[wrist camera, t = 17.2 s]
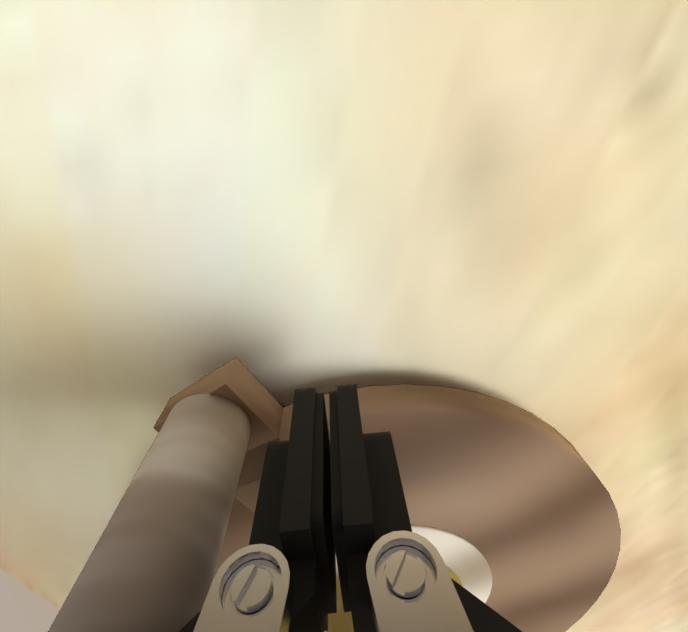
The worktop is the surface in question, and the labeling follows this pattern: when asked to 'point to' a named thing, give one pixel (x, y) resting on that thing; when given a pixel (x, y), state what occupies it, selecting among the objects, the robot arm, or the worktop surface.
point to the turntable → (419, 490)
